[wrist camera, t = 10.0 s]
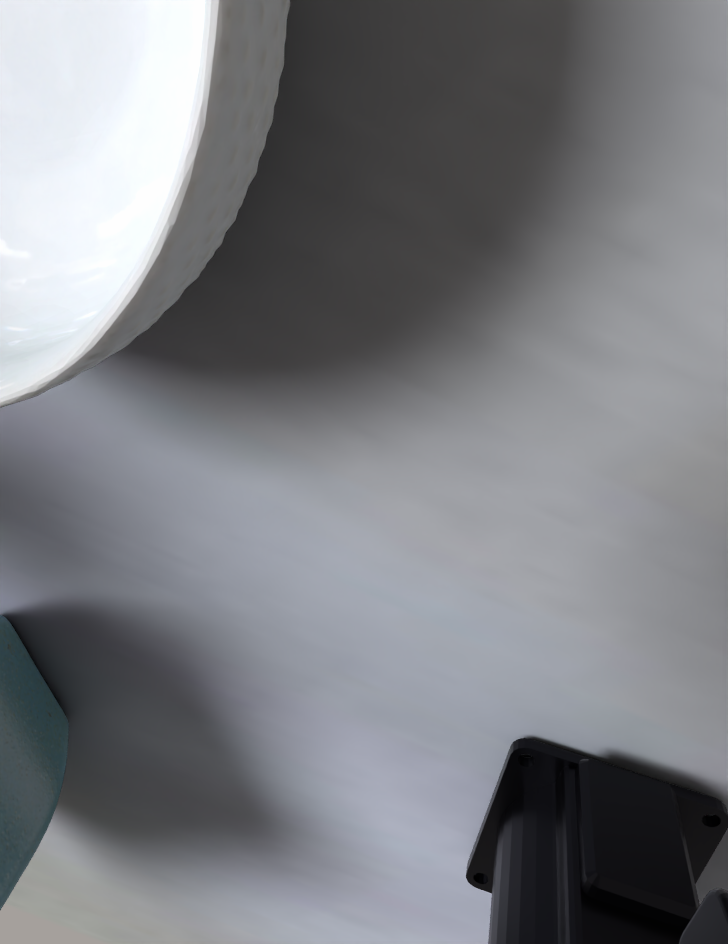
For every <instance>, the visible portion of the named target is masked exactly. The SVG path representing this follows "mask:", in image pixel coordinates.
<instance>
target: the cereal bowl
mask: <svg viewBox="0 0 728 944" xmlns="http://www.w3.org/2000/svg"><path fill="white" fill-rule="evenodd" d="M289 8H290V0H0V408H1V407H4V406H7V405H10V404H13V403H17V402H20V401H23V400H26V399H29V398H33V397H36V396H38V395H40V394H41V393H43V392H45V391H47V390H49V389H51V388H53V387H55V386H58V385H60V384H62V383H64V382H67V381H69V380H70V379H72V378H73V377H75V376H76V375H78V374H79V373H81V372H83V371H85V370H88V369H90V368H92V367H94V366H96V365H97V364H98V363H100V362H102V361H103V360H104V359H106V358H107V357H109V356H110V355H112V354H114V353H116V352H118V351H120V350H122V349H123V348H124V347H125V346H127V345H128V344H130V343H131V342H132V341H133V340H134V339H135V338H136V337H137V336H138V335H140V334H141V333H143V332H144V331H146V330H148V329H149V328H150V327H151V325H152V324H154V323H155V322H157V320H158V319H159V318H160V317H161V315H162V314H163V313H164V312H165V311H166V310H167V309H168V308H170V307H171V306H172V305H173V304H174V303H175V302H177V301H178V299H179V298H180V296H181V295H182V293H183V292H184V290H185V289H186V288H187V287H188V286H189V285H190V284H191V283H192V282H194V281H195V280H196V279H197V278H198V277H199V275H200V273H201V271H202V270H203V269H204V268H205V266H206V264H207V262H208V261H209V260H210V259H211V258H212V257H213V256H214V253H215V251H216V250H217V249H218V248H219V247H220V245H221V244H222V242H223V239H224V236H225V233H226V231H227V230H228V229H229V228H230V226H231V225H232V224H233V223H234V221H235V220H236V217H237V213H238V210H239V208H240V207H241V206H242V204H243V200H244V198H245V196H246V193H247V189H248V186H249V185H250V183H251V181H252V180H253V178H254V177H255V175H256V174H257V168H258V161H259V158H260V156H261V154H262V152H263V149H264V147H265V143H266V138H267V133H268V131H269V129H270V127H271V124H272V122H273V114H274V106H275V103H276V100H277V97H278V89H279V79H280V76H281V73H282V70H283V67H284V45H285V40H286V26H287V16H288V12H289Z"/></svg>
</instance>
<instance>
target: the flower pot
mask: <svg viewBox="0 0 728 944" xmlns="http://www.w3.org/2000/svg"><path fill="white" fill-rule="evenodd" d="M68 733H69V725H68V720H67V718H66V716H65V714H64V712H63V711H62V709H61V707H60V706H59V704H58V702H57V701H56V699H55V697H54V696H53V694H52V692H51V691H50V689H49V687H48V686H47V684H46V682H45V681H44V679H43V677H42V676H41V674H40V673H39V671H38V669H37V667H36V666H35V664H34V662H33V661H32V659H31V657H30V655H29V653H28V652H27V650H26V648H25V647H24V645H23V643H22V642H21V640H20V638H19V636H18V635H17V633H16V631H15V630H14V628H13V626H12V625H11V623H10V622H9V621H8V620H7V619H6V618H5V617H4V616H1V615H0V910H1V908H2V907H3V905H4V903H5V902H6V900H7V899H8V897H9V895H10V894H11V892H12V890H13V889H14V887H15V885H16V884H17V882H18V880H19V878H20V877H21V875H22V874H23V872H24V870H25V869H26V867H27V865H28V864H29V862H30V860H31V858H32V857H33V855H34V853H35V852H36V850H37V848H38V846H39V844H40V842H41V840H42V838H43V836H44V834H45V832H46V830H47V828H48V826H49V823H50V821H51V819H52V816H53V813H54V811H55V808H56V805H57V802H58V798H59V795H60V791H61V787H62V783H63V778H64V773H65V767H66V760H67V750H68Z"/></svg>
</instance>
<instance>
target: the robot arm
mask: <svg viewBox="0 0 728 944" xmlns="http://www.w3.org/2000/svg"><path fill="white" fill-rule="evenodd" d="M522 754H529V755H530V756H532V757H529V758H527V757H523V756H521V755H522ZM707 814H715V815H713V816H705V815H707ZM727 828H728V812H727V809H726V806H725V804H724V803H723V802H722V801H720V800H718V799H716V798H714V797H711V796H708V795H704V794H701V793H698V792H695V791H692V790H689V789H686V788H682V787H679V786H676V785H673V784H670V783H667V782H664V781H660V780H657V779H654V778H651V777H648V776H645V775H642V774H638V773H635V772H632V771H629V770H626V769H623V768H620V767H617V766H613V765H610V764H607V763H604V762H601V761H598V760H595V759H591V758H588V757H585V756H582V755H579V754H576V753H573V752H569V751H566V750H563V749H560V748H557V747H554V746H551V745H547V744H544V743H541V742H538V741H535V740H532V739H526V738H523V739H518V740H516V741H514V742H513V743H512V745H511V747H510V749H509V752H508V755H507V757H506V760H505V763H504V766H503V768H502V771H501V774H500V776H499V779H498V782H497V785H496V787H495V790H494V793H493V795H492V798H491V801H490V804H489V806H488V809H487V812H486V814H485V817H484V820H483V823H482V825H481V828H480V831H479V833H478V836H477V839H476V842H475V844H474V847H473V850H472V852H471V855H470V858H469V861H468V864H467V873H466V878H467V880H468V882H469V883H470V884H471V885H472V886H474V887H476V888H478V889H481V890H484V891H487V892H490V893H492V901H491V915H490V928H489V941H488V944H728V891H726V890H724V889H719V888H716V889H713V890H711V891H710V892H709V893H708V894H707V895H706V897H705V898H704V900H703V902H702V903H701V905H699V900H698V895H697V891H696V886H695V883H696V882H697V880H698V878H699V877H700V875H701V873H702V871H703V870H704V868H705V866H706V864H707V863H708V861H709V859H710V858H711V856H712V854H713V852H714V851H715V849H716V847H717V846H718V844H719V842H720V840H721V839H722V837H723V835H724V834H725V832H726V830H727Z"/></svg>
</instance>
